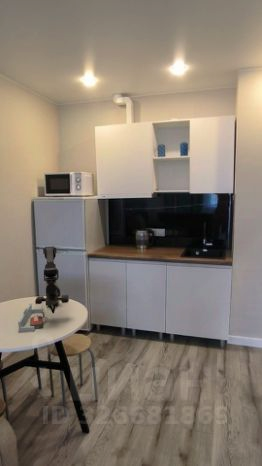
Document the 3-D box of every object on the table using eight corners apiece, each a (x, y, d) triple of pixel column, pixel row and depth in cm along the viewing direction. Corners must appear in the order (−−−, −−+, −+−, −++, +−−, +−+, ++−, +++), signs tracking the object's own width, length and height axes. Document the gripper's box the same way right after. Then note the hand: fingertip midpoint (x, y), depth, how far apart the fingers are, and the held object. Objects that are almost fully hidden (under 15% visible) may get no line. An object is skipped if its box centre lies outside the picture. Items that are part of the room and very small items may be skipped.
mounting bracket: (30, 312, 199) (29, 302, 198) (43, 312, 200) (42, 301, 199) (19, 332, 173) (18, 320, 172) (34, 331, 174) (33, 319, 173)
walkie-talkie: (46, 329, 177) (45, 315, 196) (46, 321, 177) (45, 308, 196) (30, 331, 175) (30, 316, 194) (29, 323, 174) (30, 310, 193)
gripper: (32, 293, 175) (34, 320, 178) (66, 291, 177) (67, 318, 179) (36, 287, 186) (38, 312, 189) (68, 285, 188) (69, 310, 190)
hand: (53, 313), depth 187 cm, fingers closed
